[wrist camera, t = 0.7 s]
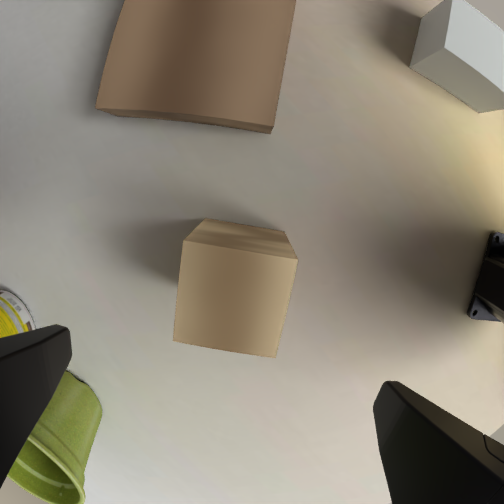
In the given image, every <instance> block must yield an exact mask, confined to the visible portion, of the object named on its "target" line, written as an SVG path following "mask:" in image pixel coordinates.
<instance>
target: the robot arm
mask: <svg viewBox="0 0 504 504" xmlns="http://www.w3.org/2000/svg"><path fill="white" fill-rule="evenodd" d="M495 237H496V240H495ZM474 310H475V311H474ZM473 311H474V313H473ZM467 315H468V316H469V317H470V318H471V319H477V320H488V321H499V322H503V323H504V234H502V233H499V232H496V231H493V232H492V233H491V234H490V237H489V241H488V245H487V249H486V253H485V257H484V260H483V264H482V267H481V271H480V274H479V278H478V281H477V284H476V287H475V290H474V293H473V296H472V299H471V302H470V305H469V308H468V311H467ZM71 357H72V348H71V338H70V331H69V329H68V328H67V327H64V326H61V325H57V324H56V325H51V326H47V327H43V328H39V329H35V330H31V331H27V332H23V333H19V334H14V335H10V336H6V337H2V338H0V488H1V486H2V484H3V482H4V480H5V479H6V477H7V475H8V473H9V471H10V469H11V467H12V466H13V464H14V462H15V460H16V458H17V456H18V455H19V453H20V451H21V449H22V448H23V446H24V444H25V442H26V441H27V439H28V437H29V435H30V434H31V432H32V430H33V429H34V427H35V425H36V424H37V422H38V420H39V419H40V417H41V415H42V414H43V412H44V410H45V409H46V407H47V405H48V404H49V402H50V400H51V399H52V397H53V395H54V393H55V391H56V389H57V387H58V385H59V383H60V380H61V378H62V376H63V374H64V372H65V370H66V368H67V366H68V364H69V362H70V360H71ZM373 413H374V419H375V425H376V432H377V439H378V446H379V452H380V456H381V460H382V464H383V468H384V472H385V476H386V480H387V484H388V488H389V492H390V496H391V500H392V504H504V445H503V444H501V443H499V442H497V441H495V440H494V439H492V438H490V437H489V436H487V435H485V434H484V435H483V433H482V432H480V431H478V430H477V429H475V428H473V427H472V426H470V425H468V424H467V423H465V422H463V421H462V420H460V419H458V418H457V417H455V416H453V415H452V414H450V413H448V412H447V411H445V410H443V409H442V408H440V407H439V406H437V405H435V404H434V403H432V402H430V401H429V400H427V399H426V398H424V397H422V396H421V395H419V394H418V393H416V392H414V391H413V390H411V389H410V388H408V387H406V386H405V385H403V384H402V383H400V382H398V381H386V382H384V383H383V385H382V387H381V389H380V391H379V393H378V395H377V398H376V400H375V402H374V405H373Z"/></svg>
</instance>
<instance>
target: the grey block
mask: <svg viewBox="0 0 504 504" xmlns="http://www.w3.org/2000/svg"><path fill="white" fill-rule="evenodd" d="M409 68H410V69H412V70H414V71H415V72H417V73H419V74H421V75H422V76H424V77H426V78H427V79H429V80H431V81H432V82H434V83H435V84H437V85H439V86H440V87H442V88H443V89H445V90H446V91H448V92H449V93H451V94H452V95H454V96H455V97H457V98H458V99H460V100H461V101H463V102H464V103H465V104H467V105H468V106H470V107H471V108H472V109H474V110H475V111H476V112H478V113H484V112H489V111H495V110H502V109H504V31H503V30H502V29H501V28H499V27H498V26H497V25H496V24H494V23H493V22H492V21H491V20H490V19H488V18H487V17H486V16H485V15H483V14H482V13H481V12H479V11H478V10H477V9H475V8H474V7H473V6H471V5H470V4H468V3H467V2H465V1H464V0H444V1H442V2H441V3H440V4H438V5H437V6H436V7H435V8H433V9H432V10H431V11H430V12H428V13H427V14H426V15H425V16H423V17H422V18H421V22H420V26H419V31H418V35H417V39H416V43H415V47H414V51H413V55H412V59H411V63H410V66H409Z"/></svg>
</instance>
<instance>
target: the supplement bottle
mask: <svg viewBox="0 0 504 504" xmlns="http://www.w3.org/2000/svg"><path fill="white" fill-rule="evenodd" d="M31 330H35V326H34V322H33V319H32V317H31V315H30V313H29V311H28V310H27V308H26V307H25V305H24V304H23V303H22V302H21V301H20V300H19V299H18V298H17V297H16V296H15V295H13V294H12V293H10V292H7V291H2V290H0V338H2V337H6V336H10V335H14V334H19V333H23V332H27V331H31Z"/></svg>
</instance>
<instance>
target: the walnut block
mask: <svg viewBox="0 0 504 504" xmlns="http://www.w3.org/2000/svg"><path fill="white" fill-rule="evenodd" d="M295 4H296V0H125V1H124V4H123V7H122V9H121V12H120V15H119V18H118V21H117V25H116V28H115V31H114V34H113V37H112V41H111V44H110V48H109V51H108V55H107V59H106V62H105V66H104V70H103V74H102V78H101V83H100V87H99V91H98V96H97V101H96V106H95V108H96V109H99V110H101V111H104V112H107V113H110V114H113V115H115V116H123V117H139V118H152V119H164V120H175V121H184V122H193V123H201V124H209V125H217V126H224V127H231V128H238V129H244V130H250V131H256V132H262V133H268V134H270V133H271V131H272V129H273V127H274V121H275V116H276V110H277V104H278V99H279V93H280V88H281V82H282V76H283V71H284V65H285V60H286V54H287V49H288V43H289V37H290V32H291V26H292V21H293V15H294V10H295Z"/></svg>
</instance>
